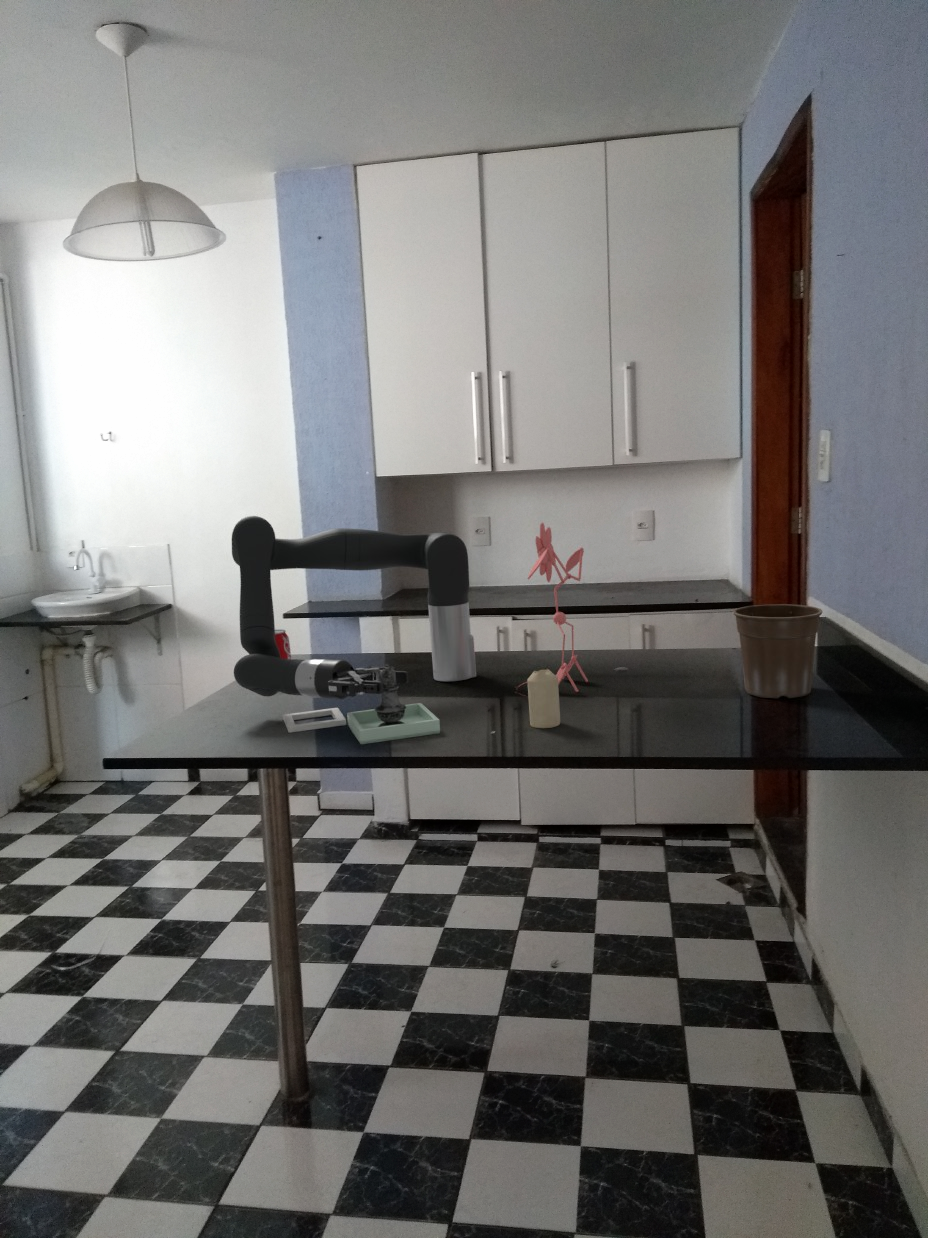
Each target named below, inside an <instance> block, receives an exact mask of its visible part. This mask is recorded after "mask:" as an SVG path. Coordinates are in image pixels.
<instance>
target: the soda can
mask: <svg viewBox="0 0 928 1238" xmlns="http://www.w3.org/2000/svg"><path fill="white" fill-rule="evenodd" d="M275 641H276V644H277V647H278V649H279V653H280V656H281V658H282V659H289V660H292V654H291V643H290V638H289V635H288V634H287V631H286V629H275Z"/></svg>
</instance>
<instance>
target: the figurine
mask: <svg viewBox="0 0 928 1238" xmlns="http://www.w3.org/2000/svg"><path fill="white" fill-rule="evenodd" d="M552 536H553V535H552V529H551V527H550V526H548V527H546V528H545V523H544V522H541V523H540V524H539V536H535V541H534V542H535V547H536V552H537V555H538V558H537V560H536V561H535V563H534V565H533V566H532V567H531V570H530V571H529V574H528V576H527V580H530V578H532V576H533V575H534V573H535V572H536V571H537V570H538V569H539V574H540V576H543V575H545V576H546V581H547V583H550V582H551V579H552V575H553V573H552V572H553V567H554V569H555V571H556V573H557V576H558V577H559V580H560V582H559V583H557V584H556V586H554V589H553V591H554V593H553V595H554V601H555V602H554V603H555V610H556V612H555V613H554V615H553V618H552V620H553V622H554V623H555V625H557V626H558V628H559V631H560V632H561V633H562V635H563V636H562V652H561V666H560V668H559V669H558V671H557V673H556V674H555V676H556V677H557V678H558V686H560V684H561V682H562V680H564V679H565V677H567V678H568V680H569V682H570V683H571V686H572V688H573V689H574V691H575V692H576V693H577V692H579V689H578V688H577V685H576V684H575V682H574V680H573V678H572V677H571V675H570V674H569V672H570V671H571V669H572V668H573V666H574V665H576V668H577V669H578V671H579V672H580V675H581V676H582V678H583V680H585V683H588V681H589V679H588V678H587V676H586V674H585V672H584V670H582V667H581V666H580V664H579V662H578V661H577V658H578V655H577V654H575V653H574V625H573V624H571V623H569V622H567V616H566V615H565V613H564V612H562V611H559V607H558V606H559V605H558V604H559V603H558V589H559V588H560V587H561V586H562V585H564V584H565V583H566V581H567V580H571V579H572V580H575V581H578V582H580V581H581V579H582V566H583V565H582V564H583V556H584V547H583V546H582V547H579V548H578V550H576V551H574V552H573V554H571V555H570V556H569V558H568V559H567V561H566V564H565V565H563V562H562V561H561V560H560V558H559V557H558V555H557V554H556V552H555V550H554V546H553V544H552V541H553V539H552ZM556 561H557V563H558V565H560V567H561V569H562V570H563V572H564V573H565V576H564V578H563V576H562V574H561V571H560V570H559V567H558V566H557V564H556ZM577 565H578V575H577V576H575V575H572V574H571V573H569V572H570V571H571V570H572V569H573V568H575V567H576V566H577ZM564 624H566V625H568V626H570V627H571V657H570V658H571V659H570V660H569V662H568V663H566V662H564V659H565V644H566V642H565V641H566V634H565V632H564V630H563V629H562V626H561V625H564ZM525 684H528V682H527V681H526V682H523V683H520V685H518V686H517V685H516V686H515V687H514V688H516V689H518V688H519V687H520V686H522V685H525ZM514 693H516V694H517V691H514ZM518 694H519V695H520V696H524V697H525V698H526V697H527V698H528V695H525V694H521V693H519V692H518Z"/></svg>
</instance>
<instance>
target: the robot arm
mask: <svg viewBox="0 0 928 1238" xmlns="http://www.w3.org/2000/svg"><path fill="white" fill-rule="evenodd" d="M231 556H232V559H233V561H234V562H235V564H236V565H237V566H238V567H239V572H240V574H239V578H240V592H239V634H240V635H239V638H240V645H241V647H242V648H243V649H244V650H245V652H246V653H248V654H246V655H244V656H242V657H241V658H240V659H239V660H237V662H236V663H235V665H234V669H233V677H234V679H235V681H236V683H237V684H238V685H239V686H241V687H242V688H244V689H246V690H248V691H251V692H253V693H255V694H257V695H259V696H262V697H272V696H275V695H276V694H277V693H283V694H285V695H290V696H303V697H304V696H305V697H310V698H316V699H329V700H331V699H332V700H345V699H347V698H348V697H350V698H354V697H356V696H357V695H360V696H362V695H364V694H372V695H373V694H374V695H380V694H381V693H383V683H382V682H381V676H380V673H381V671H382V670H383V669H385V668H386V666H371V665H369V666H366V667H367V668H365V667H357V668H355V669H354V668H353V666H352V663H350V662H349V661H347V660H345V659H326V658H322V659H321V658H312V659H297V658H296V659H292V658H291V660H289V659H282V658H281V656H280V653H279V649H278V647H277V644H276V641H275V630H276V627H275V613H274V611H275V610H274V601H273V593H272V581H271V577H272V576H271V571H275V570H276V571H277V570H292V569H295V570H296V569H304V570H305V569H309V570H339V571H374V570H383V569H388V568H389V569H391V568H401V567H403V568H413V569H423V570H427V574H428V575H427V577H428V590H427V606H428V621H429V622H428V623H429V633H430V634H429V635H430V646H431V647H430V648H431V657H432V658H431V659H432V660H431V661H432V673H433V679H434V680H435V681H438V682H457V681H458V682H459V681H463V680H465V681H466V680H468V679H471V678H475V677H477V668H476V667H477V666H476V653H475V641H474V640H475V639H474V635H472V634H471V633H472V632H471V620H470V619H471V617H470V604H469V590H470V571H469V569H470V568H469V555H468V549H467V546H466V544H465V541H464V540H463V539H462V538H460V537H459V536H457V535H456V534H452V533H449V532H441V531H440V532H430V533H419V534H400V533H399V534H398V533H392V532H385V531H380V530H372V529H364V528H363V529H362V528H347V527H345V528H338V527H337V528H331V529H326V530H323V531H321V532H318V533H315V534H313V535H312V534H311V535H309V536H306V537H302V538H301V537H300V538H291V539H289V538H277V537H276V532H275V530H274V527H273V526H272V524H271V523H270V522H269V521H268V520H266V519H265V518H263V517H260V516H258V515H249V516H245V517H243V518H241V519H240V520H239V521H238V522H236V524H235V525H234V528H233V530H232V533H231ZM389 668H391V669H393V670H394V671H395V673H396V684H407V683H409V681H410V679H409V672H408V671H406V670H405V671H404V670H395V667H394V666H389ZM381 695H382V694H381Z"/></svg>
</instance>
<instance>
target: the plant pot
mask: <svg viewBox="0 0 928 1238" xmlns="http://www.w3.org/2000/svg"><path fill="white" fill-rule="evenodd" d="M732 614H733V615H734V616H735V621H736V629H737V632H738V633H739V642H740V643H739V644H740V653H741V660H742V661H741V662H742V670H743V671H742V673H743V682H744V690H745V691H746V693H747V694H749V695H751V696H754V697H757V698H762V699H763V698H765V699H766V698H767V699H768V698H769V699H779V698H781V697H786V698H787V699H795V698H801V697H805V696H808V695H809V694H810V693H811V690H812V680H813V669H814V660H815V649H816V637H817V633H818V632H819V626H820V625H819V624H820V616H821V615H822V614H823V609H822V608H820V607H819V608H818V607H816V606H810V605H802V604H791V603H789V604H786V603H784V604H783V603H782V604H780V603H779V604H757V605H747V606H742V607H738V608H735V609H734V610H733V611H732Z"/></svg>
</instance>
